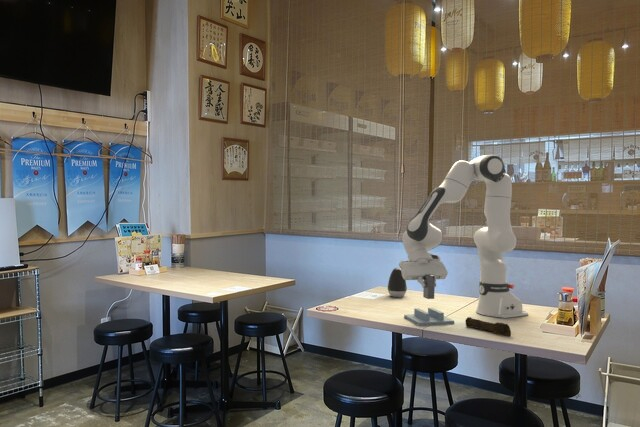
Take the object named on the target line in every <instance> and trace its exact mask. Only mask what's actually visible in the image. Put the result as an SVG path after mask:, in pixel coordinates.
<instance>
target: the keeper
mask: <svg viewBox="0 0 640 427" xmlns="http://www.w3.org/2000/svg"><path fill="white" fill-rule="evenodd" d="M427 309H428V310H427V311H425V310H424V309H421V308H419V307H418V308H414V309H413V310H414V311H413V312H414V314H412V313H411V314H410V313H409V314H404V319H406V320H408V321H410V322H411V321H412V322H411V323H413V324H415V325H417V326H418V325H419V326H421V327H423V326H434V325H453V324H455V320H454V319H451V318H449V317H447V316H445V313H444V312H442V311H441V310H439V309H437V308H434V307H427Z"/></svg>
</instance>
